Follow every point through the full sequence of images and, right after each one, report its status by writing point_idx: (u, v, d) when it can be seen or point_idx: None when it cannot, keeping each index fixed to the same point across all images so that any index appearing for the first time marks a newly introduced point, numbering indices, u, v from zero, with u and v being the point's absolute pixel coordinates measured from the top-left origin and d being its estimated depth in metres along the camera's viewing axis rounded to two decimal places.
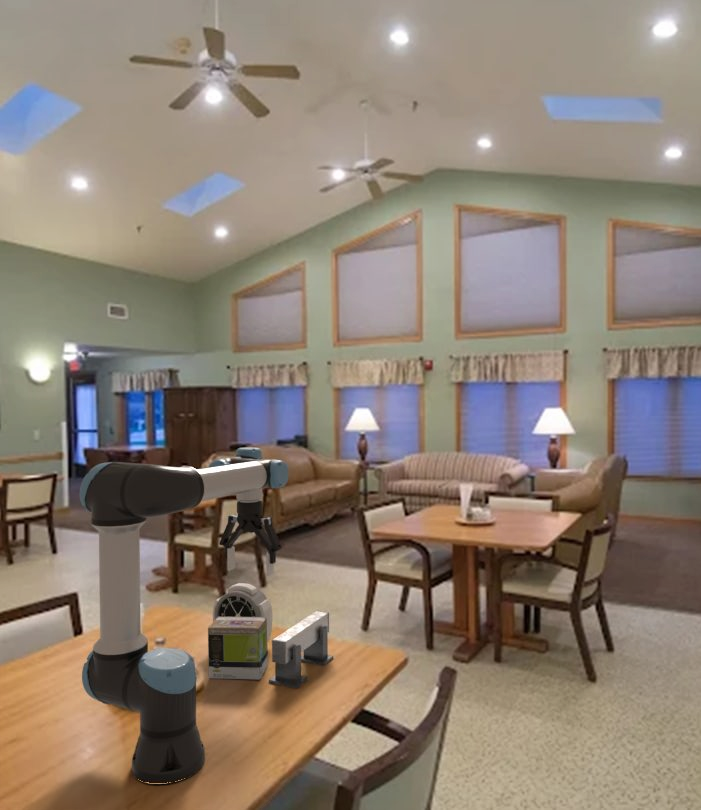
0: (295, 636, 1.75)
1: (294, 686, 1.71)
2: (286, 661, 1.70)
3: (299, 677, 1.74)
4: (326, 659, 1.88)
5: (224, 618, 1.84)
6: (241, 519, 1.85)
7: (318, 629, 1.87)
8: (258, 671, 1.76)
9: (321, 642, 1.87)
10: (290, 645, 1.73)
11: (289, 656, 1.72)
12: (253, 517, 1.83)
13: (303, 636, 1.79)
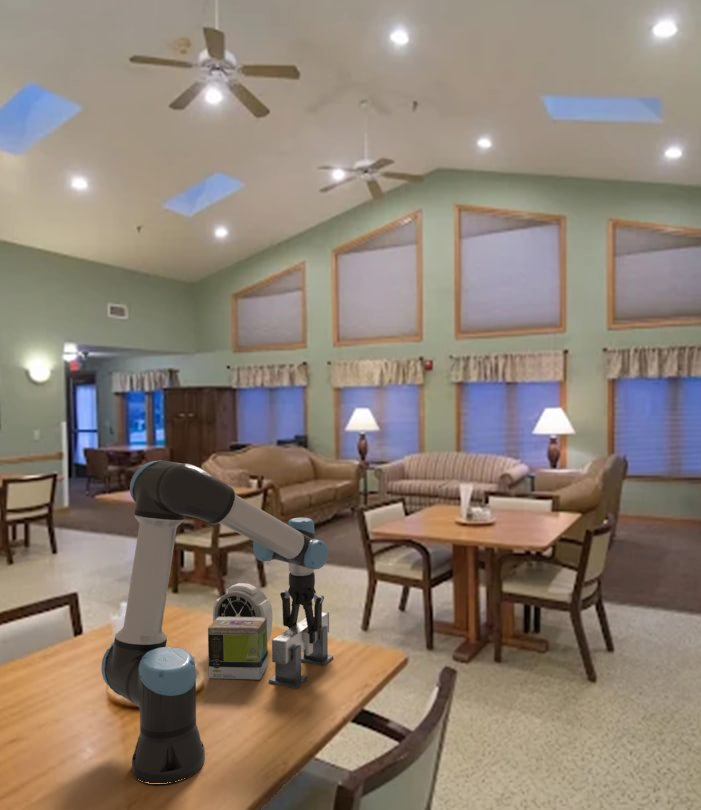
0: (295, 636, 1.75)
1: (294, 686, 1.71)
2: (286, 661, 1.70)
3: (299, 677, 1.74)
4: (326, 659, 1.88)
5: (224, 618, 1.84)
6: (293, 590, 1.82)
7: None
8: (258, 671, 1.76)
9: (321, 642, 1.87)
10: (290, 645, 1.73)
11: (289, 656, 1.72)
12: (307, 589, 1.80)
13: (303, 636, 1.79)
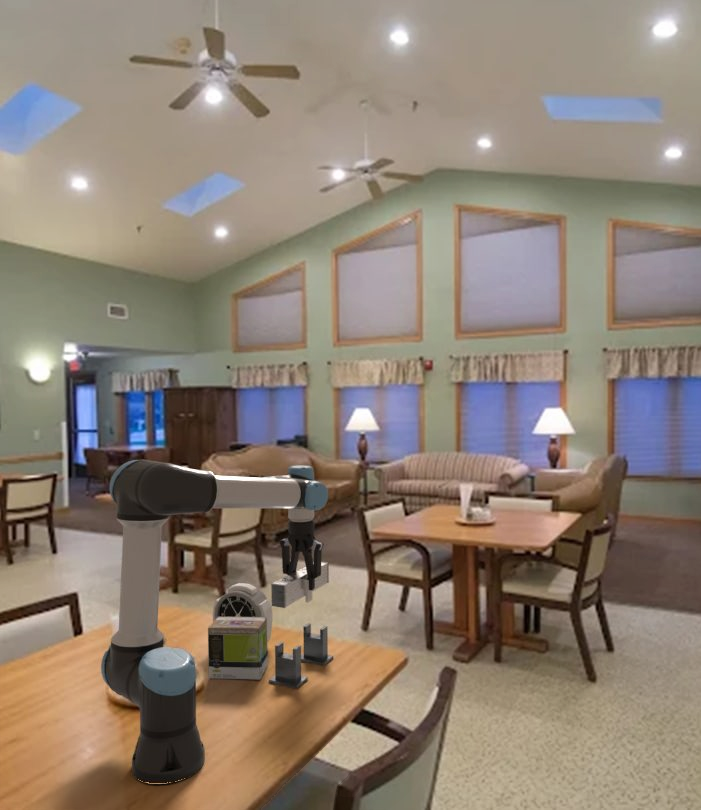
0: (295, 582, 1.75)
1: (294, 686, 1.71)
2: (285, 605, 1.70)
3: (299, 677, 1.74)
4: (326, 659, 1.88)
5: (224, 618, 1.84)
6: (292, 537, 1.82)
7: (318, 578, 1.87)
8: (258, 671, 1.76)
9: (321, 642, 1.87)
10: (290, 590, 1.72)
11: (289, 601, 1.72)
12: (307, 536, 1.80)
13: (302, 582, 1.79)
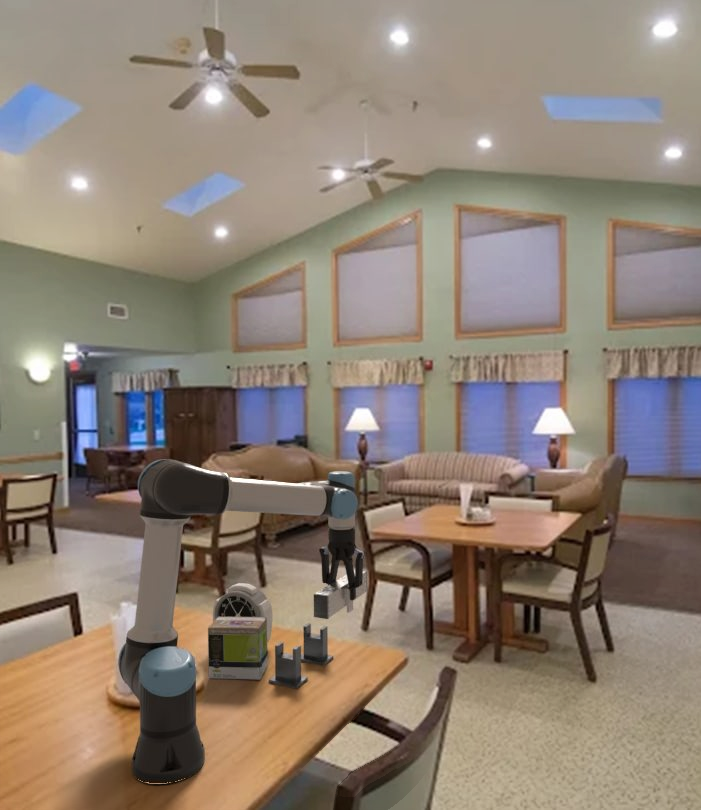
0: (337, 591, 1.69)
1: (294, 686, 1.71)
2: (328, 616, 1.65)
3: (299, 677, 1.74)
4: (326, 659, 1.88)
5: (224, 618, 1.84)
6: (332, 545, 1.76)
7: None
8: (258, 671, 1.76)
9: (321, 642, 1.87)
10: (332, 600, 1.67)
11: (331, 611, 1.66)
12: (348, 544, 1.74)
13: (344, 592, 1.73)
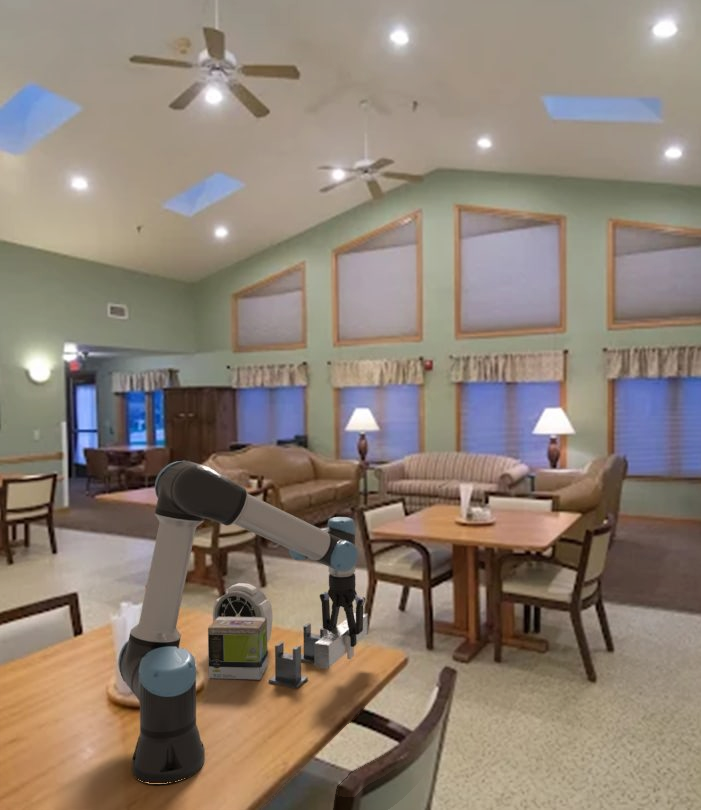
0: (337, 640, 1.69)
1: (294, 686, 1.71)
2: (329, 665, 1.65)
3: (299, 677, 1.74)
4: None
5: (224, 618, 1.84)
6: (333, 591, 1.77)
7: None
8: (258, 671, 1.76)
9: None
10: (333, 649, 1.67)
11: (332, 660, 1.67)
12: (348, 591, 1.74)
13: (344, 639, 1.73)
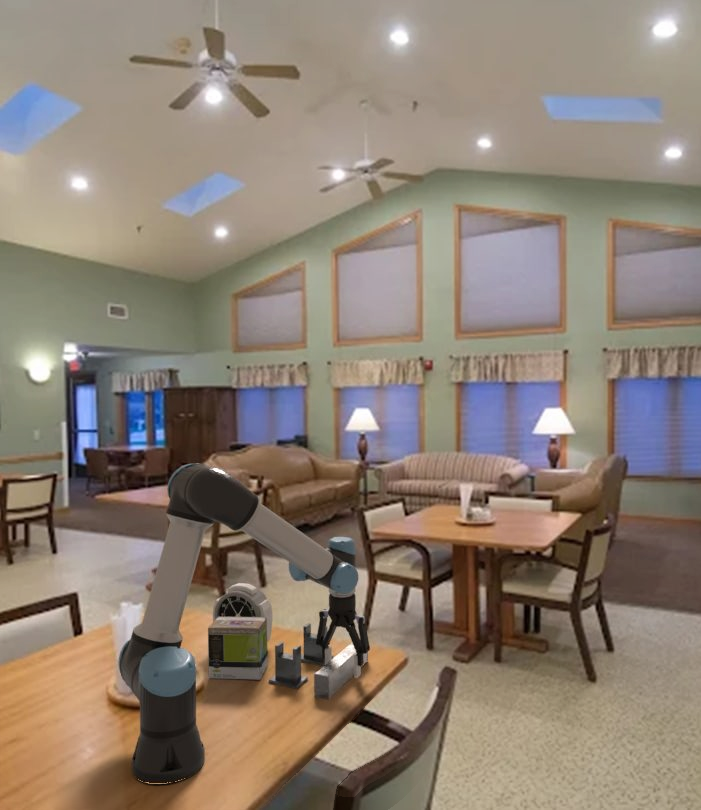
0: (337, 670, 1.69)
1: (294, 686, 1.71)
2: (329, 696, 1.65)
3: (299, 677, 1.74)
4: None
5: (224, 618, 1.84)
6: (333, 612, 1.77)
7: None
8: (258, 671, 1.76)
9: None
10: (333, 679, 1.67)
11: (332, 691, 1.67)
12: (348, 611, 1.75)
13: (344, 668, 1.73)
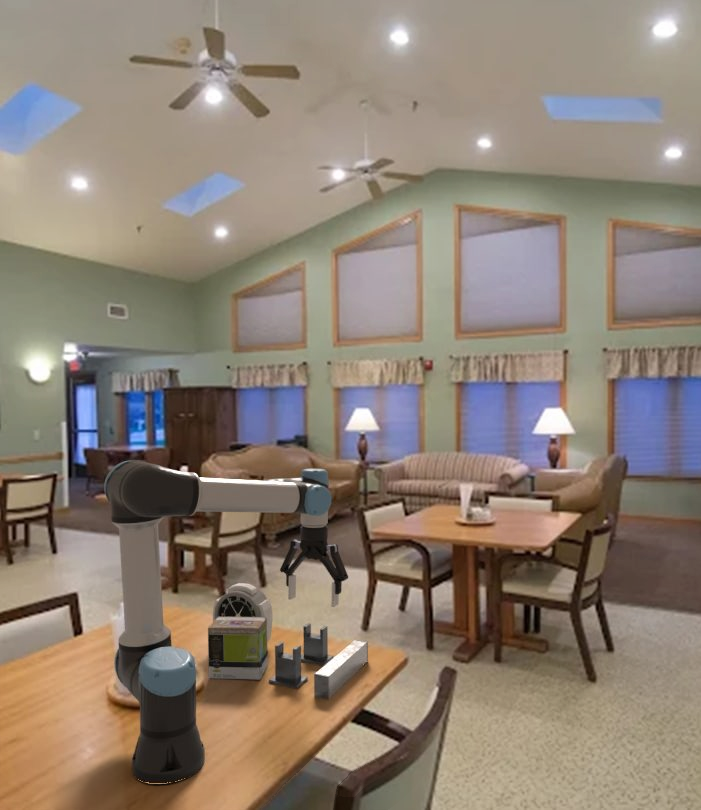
0: (337, 670, 1.69)
1: (294, 686, 1.71)
2: (329, 696, 1.65)
3: (299, 677, 1.74)
4: (326, 659, 1.88)
5: (224, 618, 1.84)
6: (305, 545, 1.74)
7: (358, 660, 1.82)
8: (258, 671, 1.76)
9: (321, 642, 1.87)
10: (333, 679, 1.67)
11: (332, 691, 1.67)
12: (318, 543, 1.72)
13: (344, 668, 1.73)
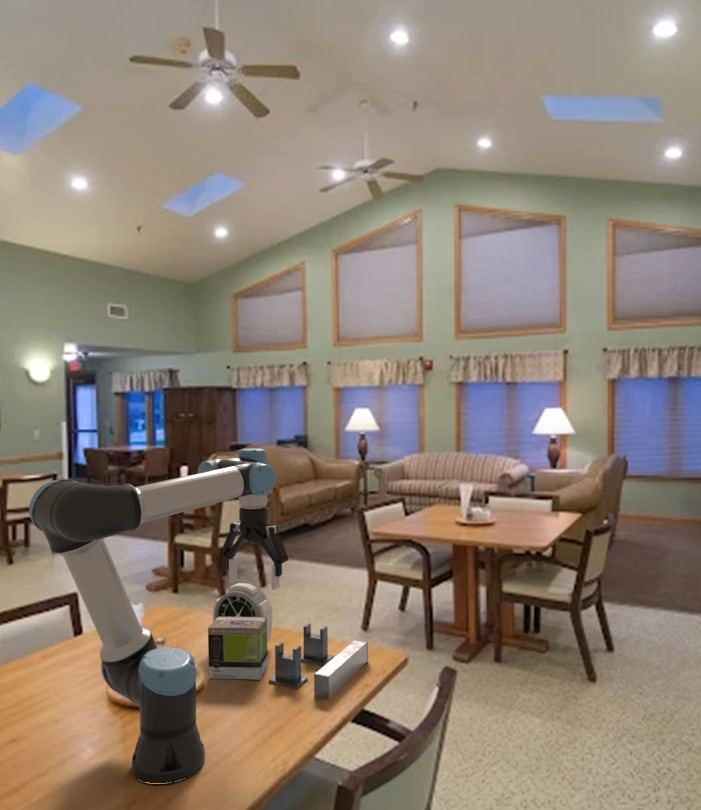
0: (337, 670, 1.69)
1: (294, 686, 1.71)
2: (329, 696, 1.65)
3: (299, 677, 1.74)
4: (326, 659, 1.88)
5: (224, 618, 1.84)
6: (244, 527, 1.69)
7: (358, 660, 1.82)
8: (258, 671, 1.76)
9: (321, 642, 1.87)
10: (333, 679, 1.67)
11: (332, 691, 1.67)
12: (257, 525, 1.67)
13: (344, 668, 1.73)
